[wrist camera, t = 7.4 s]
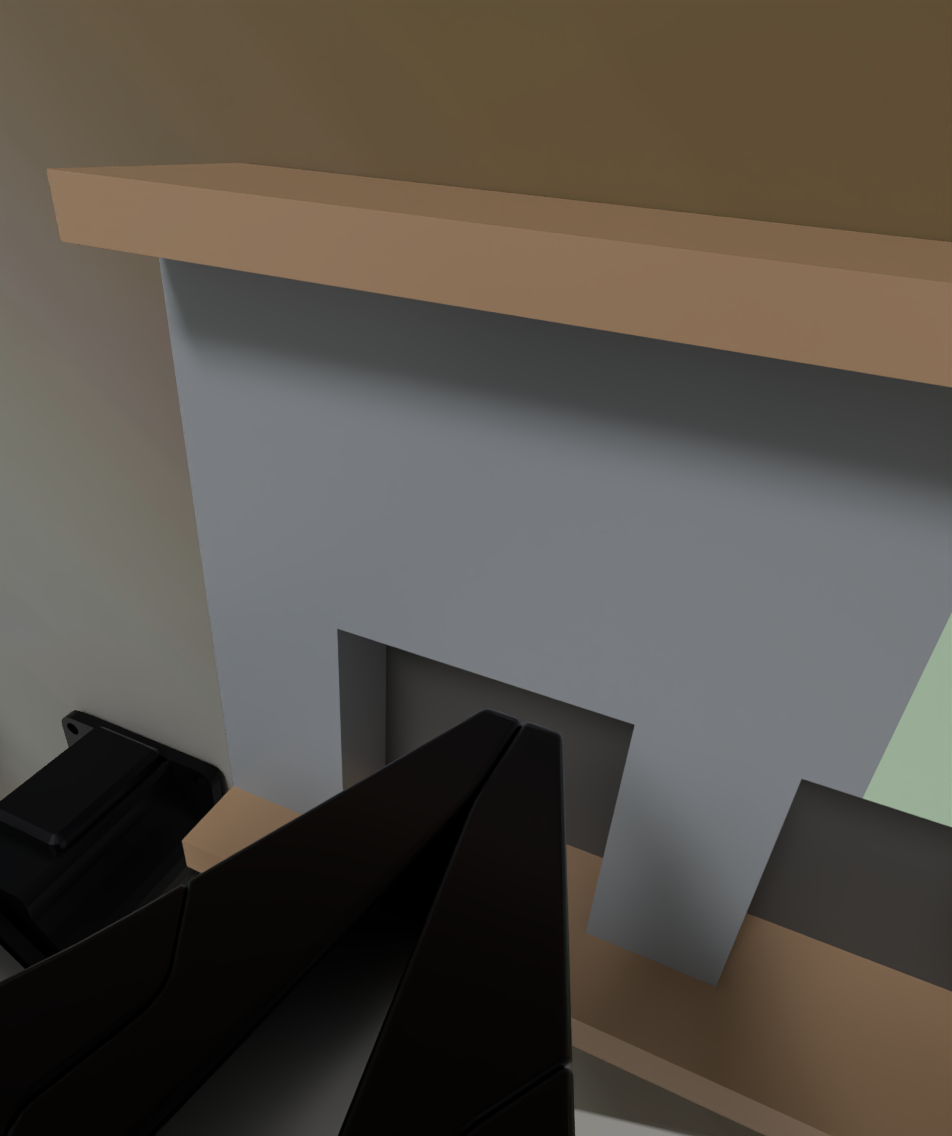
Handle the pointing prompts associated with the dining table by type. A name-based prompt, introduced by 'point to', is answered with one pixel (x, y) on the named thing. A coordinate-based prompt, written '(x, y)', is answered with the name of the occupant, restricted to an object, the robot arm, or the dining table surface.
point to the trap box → (597, 582)
